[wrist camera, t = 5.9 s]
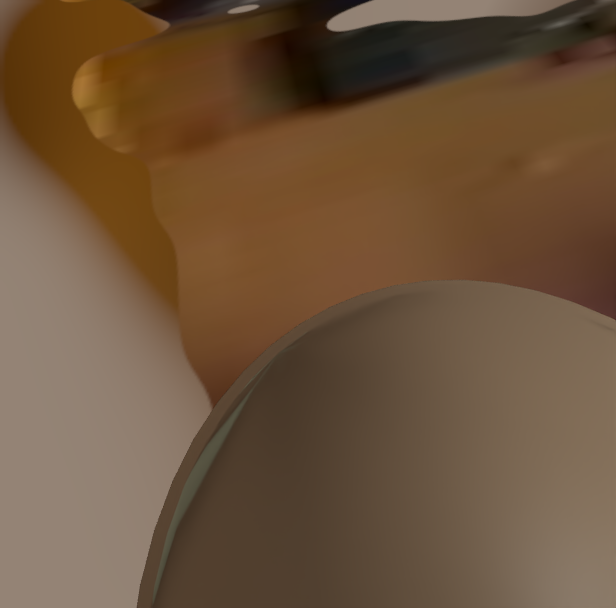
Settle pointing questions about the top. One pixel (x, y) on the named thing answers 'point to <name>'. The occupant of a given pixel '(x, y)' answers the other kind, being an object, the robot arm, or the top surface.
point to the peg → (405, 462)
